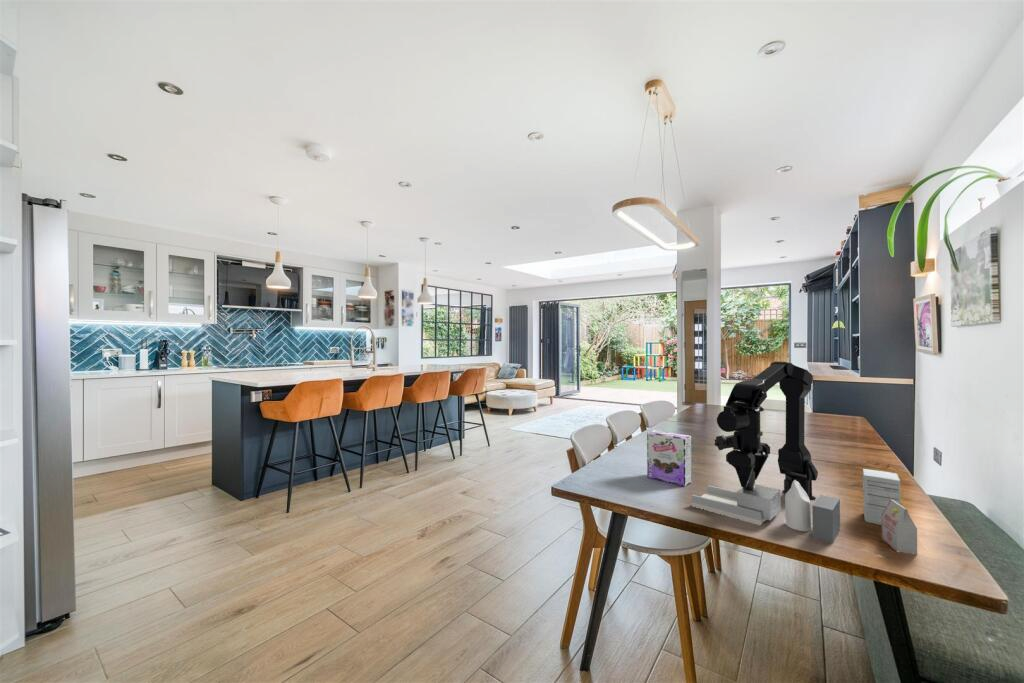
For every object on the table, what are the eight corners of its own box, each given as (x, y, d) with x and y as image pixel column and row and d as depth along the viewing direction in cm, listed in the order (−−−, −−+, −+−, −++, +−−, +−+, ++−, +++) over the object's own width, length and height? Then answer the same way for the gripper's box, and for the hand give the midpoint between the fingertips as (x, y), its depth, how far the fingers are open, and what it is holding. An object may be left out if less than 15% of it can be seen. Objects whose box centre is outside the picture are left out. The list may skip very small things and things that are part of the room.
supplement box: (862, 512, 116) (862, 468, 116) (898, 519, 111) (898, 473, 111) (863, 521, 110) (863, 474, 110) (901, 529, 106) (901, 480, 106)
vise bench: (691, 506, 121) (691, 479, 121) (708, 494, 130) (708, 469, 130) (831, 545, 97) (831, 511, 98) (841, 528, 106) (840, 497, 107)
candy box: (646, 477, 148) (646, 431, 148) (654, 473, 152) (653, 429, 152) (685, 487, 138) (684, 437, 138) (692, 482, 142) (691, 435, 142)
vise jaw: (737, 511, 114) (736, 473, 114) (748, 501, 121) (748, 465, 121) (770, 520, 108) (769, 480, 108) (780, 509, 115) (780, 472, 115)
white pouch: (810, 486, 104) (784, 481, 107) (811, 533, 104) (784, 527, 107) (810, 479, 109) (784, 475, 112) (810, 524, 109) (785, 519, 112)
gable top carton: (900, 541, 100) (900, 499, 100) (917, 554, 93) (916, 510, 93) (881, 538, 101) (881, 498, 101) (896, 552, 94) (896, 508, 94)
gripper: (729, 419, 128) (730, 469, 128) (706, 428, 116) (706, 484, 115) (770, 424, 120) (771, 478, 120) (750, 435, 107) (750, 494, 107)
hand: (749, 483), depth 116 cm, fingers open, 9 cm apart
